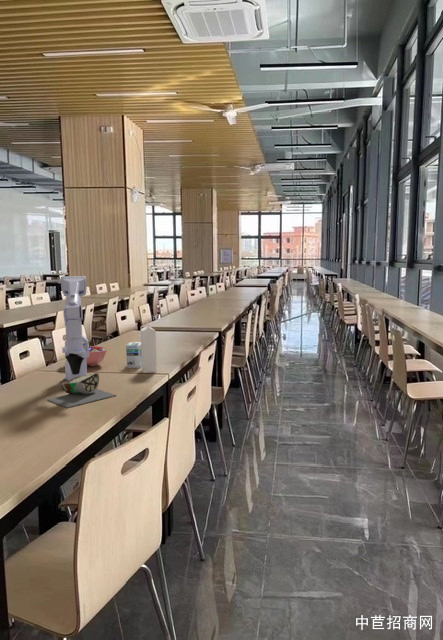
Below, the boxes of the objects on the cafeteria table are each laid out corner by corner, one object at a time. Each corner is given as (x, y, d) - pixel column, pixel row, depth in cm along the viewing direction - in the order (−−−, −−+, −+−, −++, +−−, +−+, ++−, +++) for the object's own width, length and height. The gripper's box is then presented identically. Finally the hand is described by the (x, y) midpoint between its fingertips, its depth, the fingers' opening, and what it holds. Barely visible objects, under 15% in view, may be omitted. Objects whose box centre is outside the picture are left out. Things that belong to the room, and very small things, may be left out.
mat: (47, 400, 177) (47, 399, 177) (95, 389, 192) (95, 388, 192) (67, 408, 168) (67, 407, 168) (116, 396, 182) (116, 394, 182)
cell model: (96, 371, 223) (95, 346, 222) (58, 368, 229) (56, 344, 228) (114, 363, 239) (113, 340, 238) (78, 361, 245) (77, 339, 244)
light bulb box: (140, 368, 229) (140, 345, 228) (126, 368, 229) (125, 345, 228) (144, 363, 240) (143, 341, 238) (130, 363, 240) (130, 341, 238)
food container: (62, 401, 182) (84, 398, 178) (58, 385, 181) (79, 382, 177) (82, 390, 193) (103, 387, 189) (78, 375, 192) (99, 372, 189)
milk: (143, 373, 219) (141, 324, 216) (141, 370, 225) (140, 322, 222) (157, 372, 221) (155, 323, 218) (154, 369, 226) (153, 321, 224)
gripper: (54, 337, 182) (55, 372, 183) (74, 341, 172) (76, 379, 174) (71, 334, 187) (72, 369, 189) (92, 338, 177) (93, 375, 179)
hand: (75, 374), depth 181 cm, fingers closed
